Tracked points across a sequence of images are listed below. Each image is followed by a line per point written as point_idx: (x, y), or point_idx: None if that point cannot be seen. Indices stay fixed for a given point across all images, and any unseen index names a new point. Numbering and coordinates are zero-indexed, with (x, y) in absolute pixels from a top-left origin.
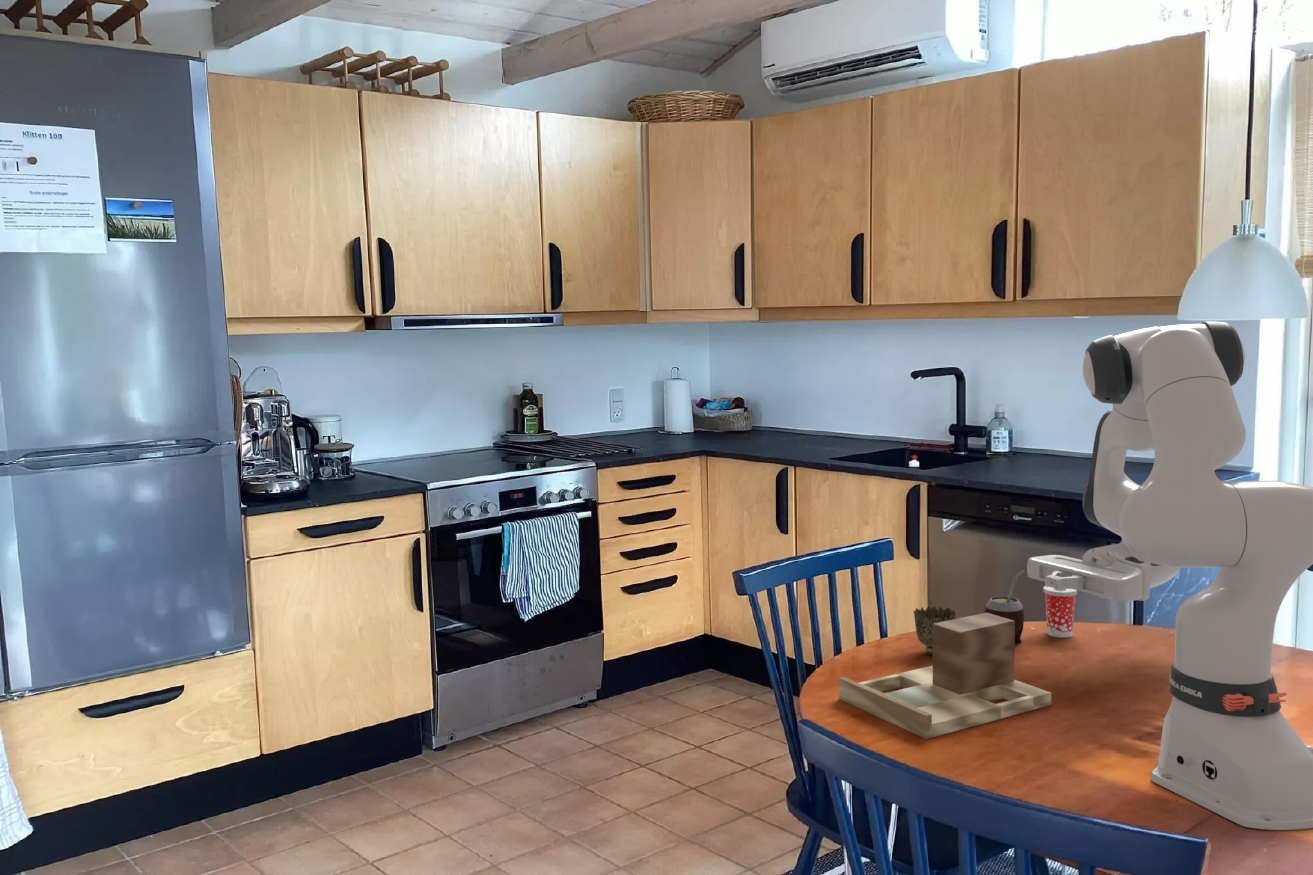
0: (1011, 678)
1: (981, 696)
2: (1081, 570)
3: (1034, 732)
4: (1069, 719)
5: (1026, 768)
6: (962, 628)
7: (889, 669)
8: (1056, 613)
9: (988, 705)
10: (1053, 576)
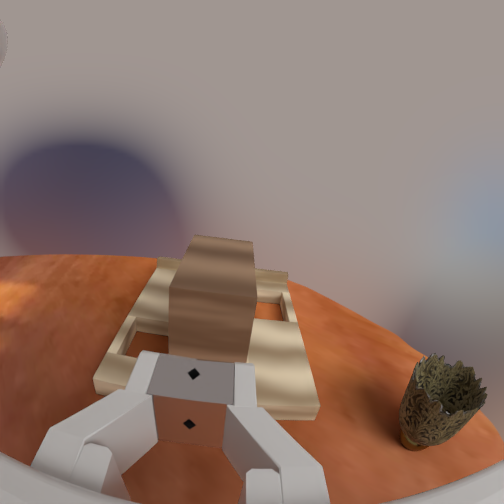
0: None
1: None
2: (38, 494)
3: (81, 320)
4: (57, 363)
5: (66, 274)
6: (206, 242)
7: (357, 361)
8: None
9: (140, 310)
10: (216, 380)
